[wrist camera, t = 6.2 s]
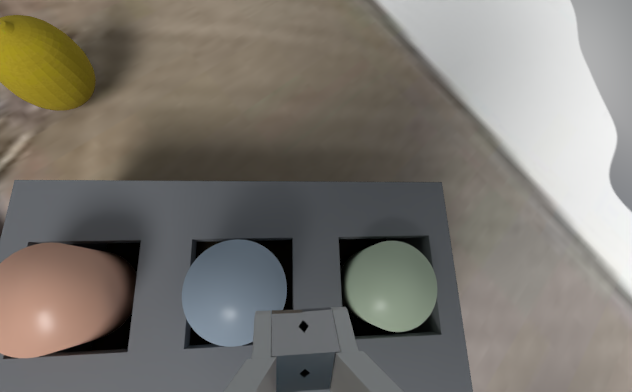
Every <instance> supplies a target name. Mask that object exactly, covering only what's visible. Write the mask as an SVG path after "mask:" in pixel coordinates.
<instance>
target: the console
mask: <svg viewBox="0 0 632 392" xmlns="http://www.w3.org/2000/svg"><path fill="white" fill-rule="evenodd" d="M384 238H387V241H400V242H404V243H407V244H409V245H411V246H413V247H415V248H416V249H418V250H419V251H420V252H421V253H422V254H423V255H424V256H425V257H426V258H427V260H428V261H429V263H430V264H431V266H432V268H433V270H434V273H435V276H436V280H437V299H436V303H435V306H434V308H433V311H432V312H431V314H430V316H429V317H428V318H427V319H426V320H425V321H424V322H423V323H422V324H421V325H419V326H418V327H416V328H414V329H412V330H409V331H404V332H396V334H388V335H369V336H355V340H356V344H357V347H358V351H364V352H365V353H366V354H367V355H368V356H369V357H370V359H371V360H372V361H373V362H374V363H375V364H376V365H377V366H378V367H379V368H380V369H381V370H382V371H383V372H384V373H385V374H386V375H387V376H388V377H389V378H390V379H391V380H392V381H393V382H394V383H395V384H396V385H397V386H398V387H399V388H400V389H401V390H402V391H403V392H473V389H472V382H471V376H470V369H469V362H468V355H467V349H466V342H465V335H464V329H463V322H462V315H461V308H460V302H459V295H458V288H457V282H456V275H455V268H454V261H453V255H452V248H451V241H450V235H449V228H448V221H447V214H446V208H445V201H444V194H443V187H442V182H295V181H105V180H15V181H14V185H13V189H12V194H11V198H10V202H9V206H8V210H7V214H6V218H5V223H4V227H3V231H2V235H1V239H0V263H1V262H2V261H4V260H5V259H6V258H7V257H9V256H10V255H12V254H13V253H15V252H17V251H19V250H21V249H23V248H26V247H28V246H31V245H35V244H40V243H49V242H53V243H62V244H68V245H73V246H78V247H84V248H89V249H94V250H99V251H105V252H106V250H107V243H141V244H140V252H139V260H138V269H137V277H136V286H135V294H134V302H133V311H132V319H131V327H130V336H129V344H128V349H113V350H95V351H92V345H93V341H90V342H87V343H83V344H80V345H77V346H73V347H70V348H67V349H63V350H60V351H57V352H53V353H50V354H47V355H43V356H39V357H34V358H14V357H10V356H6V355H3V354H1V353H0V392H224V391H225V389H226V388H227V387H228V385H229V384H230V382H231V381H232V380H233V378H234V377H235V375H236V374H237V372H238V371H239V370H240V368H241V367H242V365H243V364H244V363H245V361H246V360H247V359H252V350H253V342H251V343H249V344H246V345H242V346H235V347H225V346H219V345H216V344H205V345H190V331H191V326H190V324H189V323H188V321H187V319H186V316H185V314H184V310H183V306H182V288H183V283H184V280H185V277H186V274H187V272H188V270H189V268H190V267H191V265H192V264H193V262H194V261H195V260H196V246H197V242H206V241H228V240H235V239H241V240H249V241H265V240H292V286H293V310H301V309H311V308H326V307H330V308H331V307H342V294H341V275H340V256H339V239H384ZM297 392H331V391H330V389H326V390H309V391H297Z"/></svg>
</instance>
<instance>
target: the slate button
mask: <svg viewBox="0 0 632 392" xmlns="http://www.w3.org/2000/svg"><path fill="white" fill-rule="evenodd" d="M286 296H287V283H286V277H285V274H284V271H283V268H282V266H281V264H280V262H279V261H278V259H277V258H276V257H275V256H274V255H273V253H272V252H270V251H269V250H268V249H267V248H265V247H264V246H262V245H260V244H258V243H256V242H252V241H249V240H241V239H235V240H228V241H223V242H220V243H218V244H215V245H213V246H211V247H210V248H208V249H207V250H205V251H204V252H203V253H202V254H200V255H199V257H198V258H197V259H196V260H195V261H194V262H193V264H192V265H191V267H190V268H189V270H188V272H187V274H186V277H185V280H184V283H183V288H182V306H183V310H184V314H185V316H186V319H187V321H188V323H189V324H190V326H191V327H192V329H193V330H194V331H195V332H196V333H197V334H198V335H199V336H200V337H202V338H203V339H205V340H206V341H208V342H210V343H213V344H216V345H219V346H225V347H235V346H242V345H246V344H249V343H251V342H253V333H254V317H255V312H256V311H269V310H271V314H272V310H283V308H284V305H285V301H286Z"/></svg>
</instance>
